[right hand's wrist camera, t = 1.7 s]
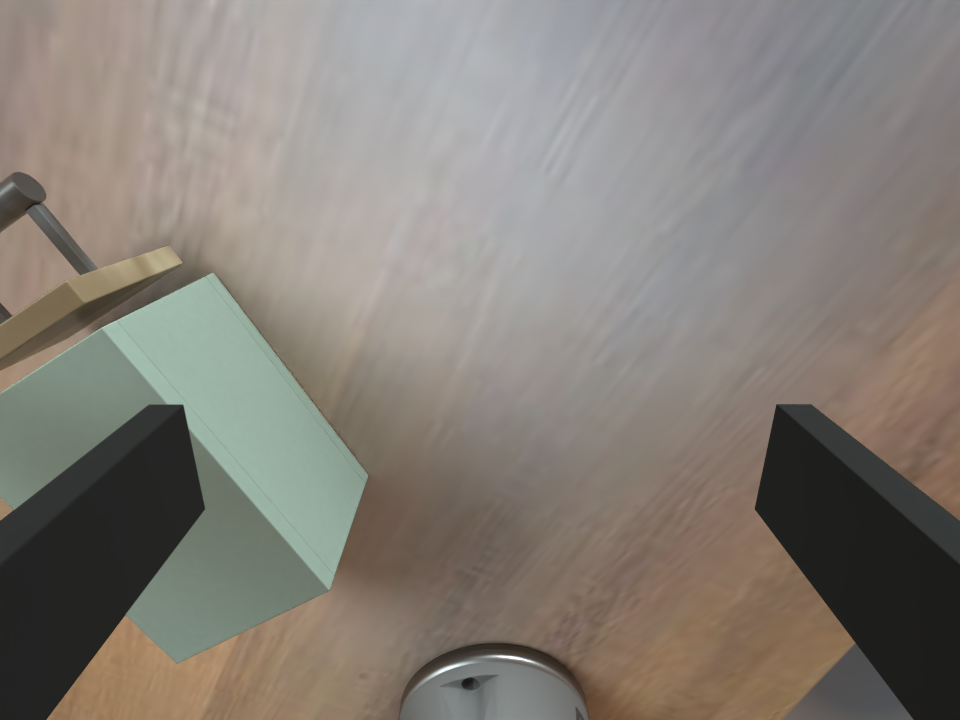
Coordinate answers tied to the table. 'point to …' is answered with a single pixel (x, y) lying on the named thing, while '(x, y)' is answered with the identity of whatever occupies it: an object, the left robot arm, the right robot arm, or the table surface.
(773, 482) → the right robot arm
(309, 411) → the sage green box
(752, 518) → the table surface
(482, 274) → the table surface
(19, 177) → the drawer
